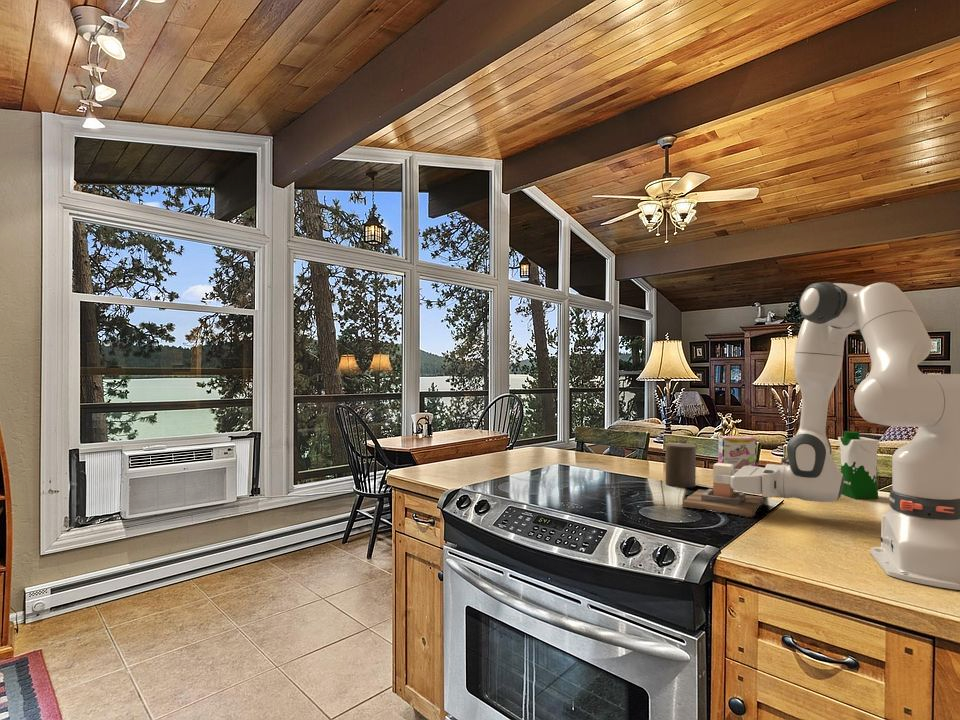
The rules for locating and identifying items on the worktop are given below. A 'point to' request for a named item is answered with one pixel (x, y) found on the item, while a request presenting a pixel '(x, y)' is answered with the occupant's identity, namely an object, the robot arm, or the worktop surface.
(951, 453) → the robot arm
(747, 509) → the walnut plate
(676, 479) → the pillar candle
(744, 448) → the candy bar box
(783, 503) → the worktop surface
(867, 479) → the milk carton
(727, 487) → the block stack
